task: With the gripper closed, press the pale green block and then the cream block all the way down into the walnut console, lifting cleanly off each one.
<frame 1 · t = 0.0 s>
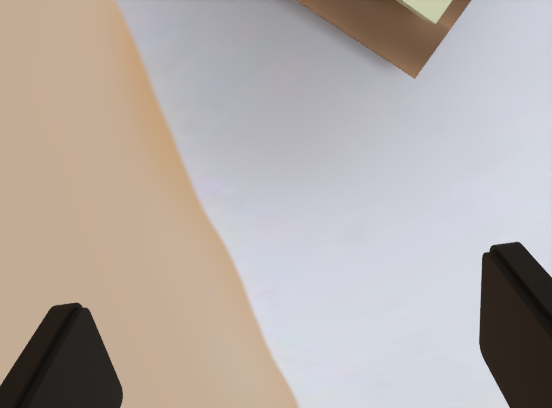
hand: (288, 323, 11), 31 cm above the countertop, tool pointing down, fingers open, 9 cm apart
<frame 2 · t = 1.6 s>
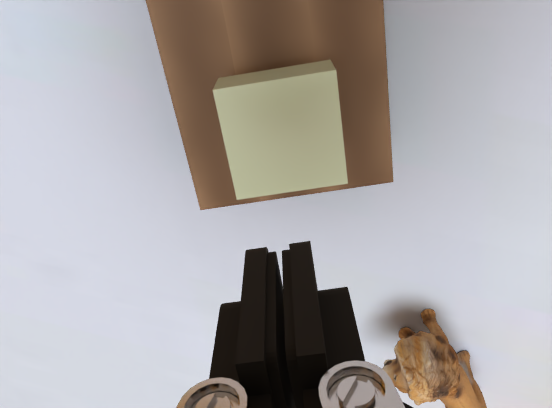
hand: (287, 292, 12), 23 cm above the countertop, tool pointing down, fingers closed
pale green block: (282, 117, 26), point 7 cm above the countertop, slide at 0.0 cm
lion figurine: (426, 343, 43), on the countertop
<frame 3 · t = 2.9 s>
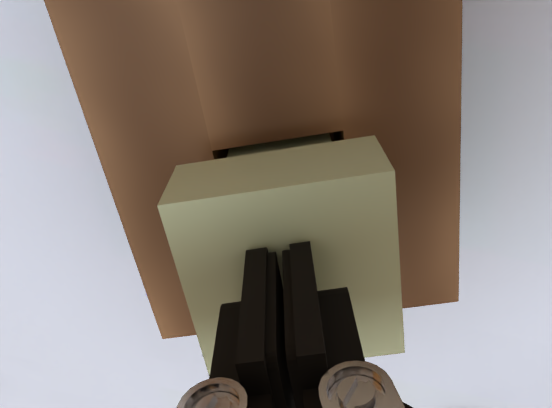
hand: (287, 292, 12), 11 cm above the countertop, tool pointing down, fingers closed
pale green block: (288, 220, 16), point 8 cm above the countertop, slide at 0.0 cm, touching gripper
console: (263, 16, 20), on the countertop
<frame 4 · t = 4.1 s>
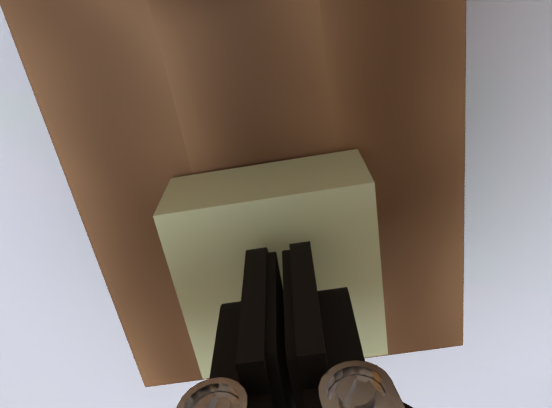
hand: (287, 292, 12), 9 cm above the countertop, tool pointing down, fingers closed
pale green block: (277, 229, 16), point 5 cm above the countertop, slide at 2.3 cm
console: (252, 42, 19), on the countertop
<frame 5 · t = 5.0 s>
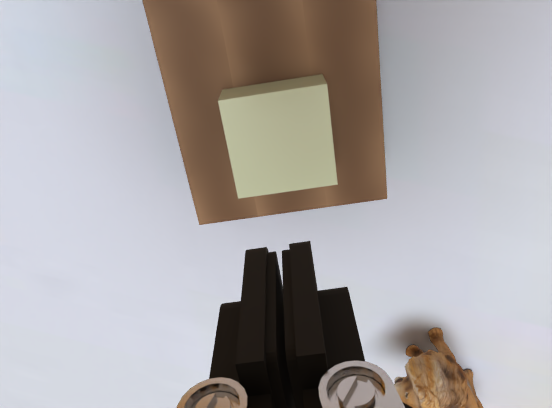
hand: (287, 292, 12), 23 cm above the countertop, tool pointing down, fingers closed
pale green block: (279, 125, 29), point 5 cm above the countertop, slide at 2.3 cm
lion figurine: (431, 360, 44), on the countertop
console: (265, 19, 31), on the countertop
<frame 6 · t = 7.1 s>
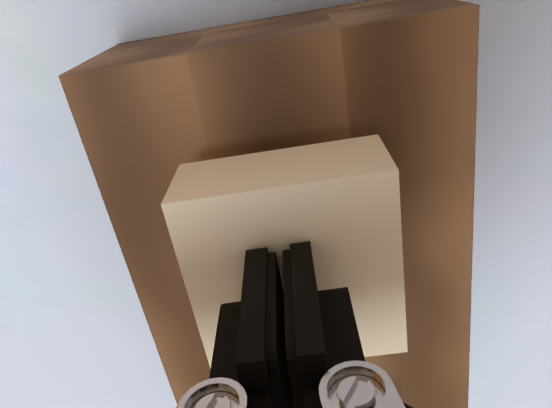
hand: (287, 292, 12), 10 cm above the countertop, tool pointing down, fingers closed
cream block: (290, 219, 16), point 6 cm above the countertop, slide at 1.0 cm, touching gripper
console: (303, 252, 24), on the countertop
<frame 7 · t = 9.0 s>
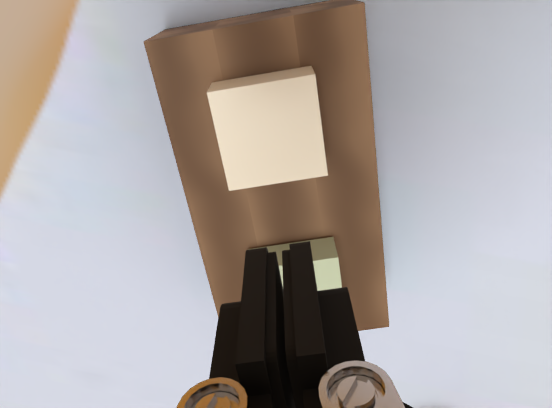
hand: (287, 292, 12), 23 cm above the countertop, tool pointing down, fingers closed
pale green block: (295, 269, 34), point 5 cm above the countertop, slide at 2.3 cm
cream block: (269, 117, 29), point 5 cm above the countertop, slide at 2.3 cm
console: (281, 169, 36), on the countertop
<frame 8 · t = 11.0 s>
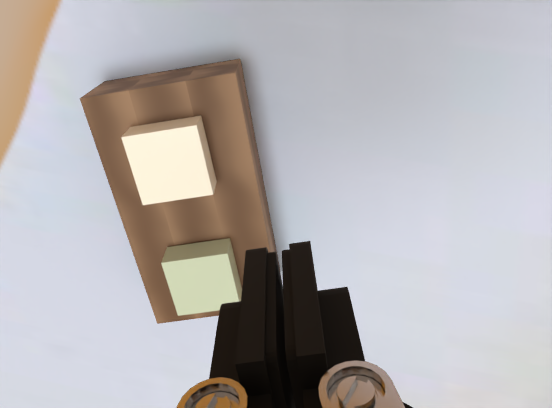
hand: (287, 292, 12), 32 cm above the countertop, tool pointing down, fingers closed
pale green block: (206, 262, 44), point 5 cm above the countertop, slide at 2.3 cm
cream block: (176, 150, 39), point 5 cm above the countertop, slide at 2.3 cm
console: (200, 185, 46), on the countertop
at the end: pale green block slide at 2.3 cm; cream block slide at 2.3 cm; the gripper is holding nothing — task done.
